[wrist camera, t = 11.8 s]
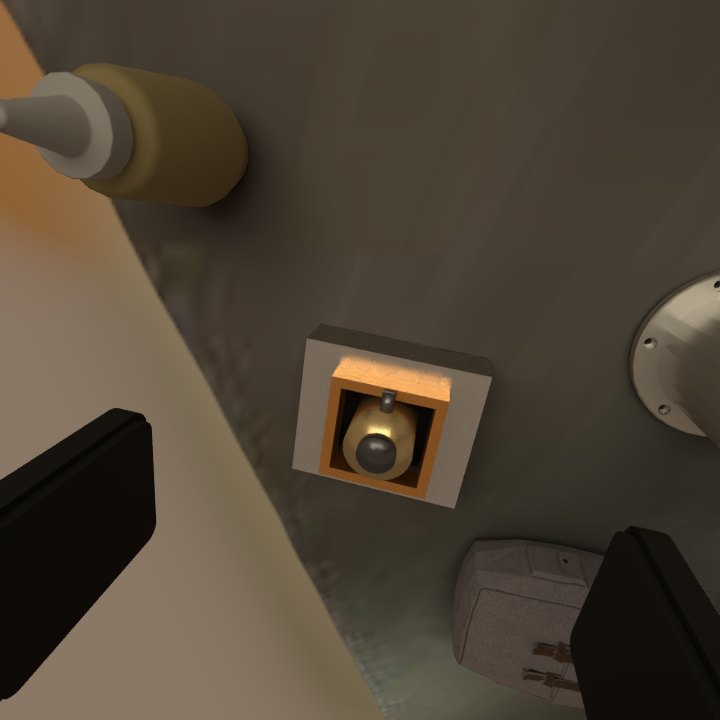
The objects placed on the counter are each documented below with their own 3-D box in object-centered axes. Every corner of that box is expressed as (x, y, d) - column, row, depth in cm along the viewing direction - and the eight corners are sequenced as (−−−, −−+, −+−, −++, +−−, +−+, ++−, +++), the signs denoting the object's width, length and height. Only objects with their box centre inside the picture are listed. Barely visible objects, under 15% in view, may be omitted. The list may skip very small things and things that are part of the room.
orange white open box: (488, 358, 36) (494, 388, 31) (454, 479, 41) (454, 525, 35) (321, 323, 38) (298, 346, 33) (306, 444, 43) (284, 482, 37)
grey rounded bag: (441, 622, 47) (645, 671, 45) (439, 706, 40) (684, 771, 37) (468, 507, 42) (702, 554, 39) (471, 578, 34) (763, 643, 31)
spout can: (414, 432, 40) (404, 494, 32) (359, 419, 41) (335, 477, 33) (429, 366, 38) (422, 415, 29) (370, 354, 38) (348, 398, 30)
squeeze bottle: (258, 215, 36) (92, 238, 19) (164, 194, 37) (-71, 199, 20) (269, 101, 33) (83, 12, 16) (167, 81, 34) (-109, -23, 17)
